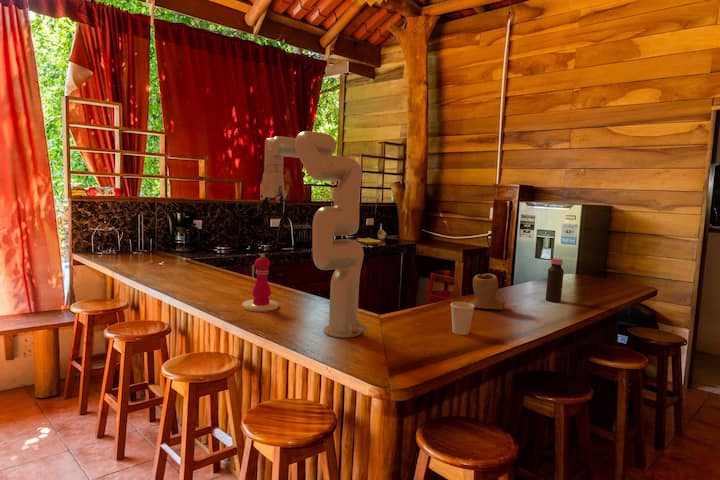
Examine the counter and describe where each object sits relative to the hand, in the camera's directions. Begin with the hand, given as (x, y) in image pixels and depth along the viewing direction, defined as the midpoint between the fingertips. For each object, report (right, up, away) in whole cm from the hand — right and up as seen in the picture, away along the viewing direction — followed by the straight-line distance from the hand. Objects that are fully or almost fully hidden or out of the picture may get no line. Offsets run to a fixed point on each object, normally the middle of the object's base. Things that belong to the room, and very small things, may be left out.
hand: (272, 211), depth 193 cm
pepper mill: (-3, -37, -5) cm, 37 cm away
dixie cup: (+71, -44, -26) cm, 88 cm away
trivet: (-4, -38, -5) cm, 39 cm away
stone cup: (+90, -41, +11) cm, 100 cm away
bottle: (+127, -41, +32) cm, 138 cm away
